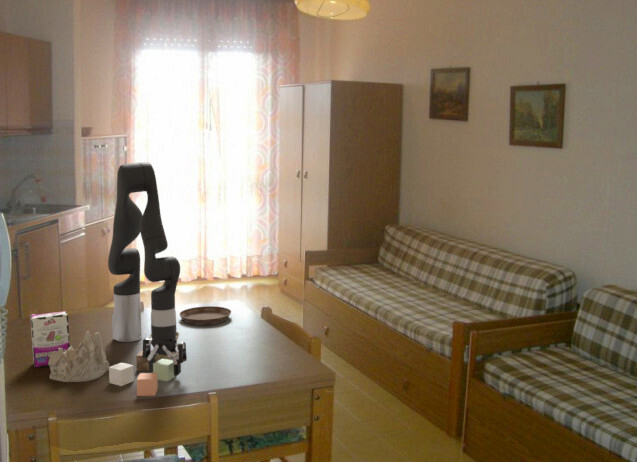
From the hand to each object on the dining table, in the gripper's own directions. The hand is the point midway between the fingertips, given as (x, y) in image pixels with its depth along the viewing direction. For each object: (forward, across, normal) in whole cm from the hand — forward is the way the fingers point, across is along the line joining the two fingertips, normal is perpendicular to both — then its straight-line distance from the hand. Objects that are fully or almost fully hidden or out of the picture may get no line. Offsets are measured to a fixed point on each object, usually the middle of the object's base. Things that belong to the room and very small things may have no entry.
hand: (164, 373), depth 203 cm
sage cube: (+2, 0, 0) cm, 2 cm away
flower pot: (+2, -9, +14) cm, 17 cm away
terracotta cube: (+2, +2, -12) cm, 12 cm away
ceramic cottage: (+2, -27, -6) cm, 27 cm away
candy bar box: (+2, -41, -3) cm, 41 cm away
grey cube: (+2, -10, -8) cm, 13 cm away
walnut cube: (+1, -10, +5) cm, 11 cm away
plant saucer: (+2, -21, +61) cm, 65 cm away
